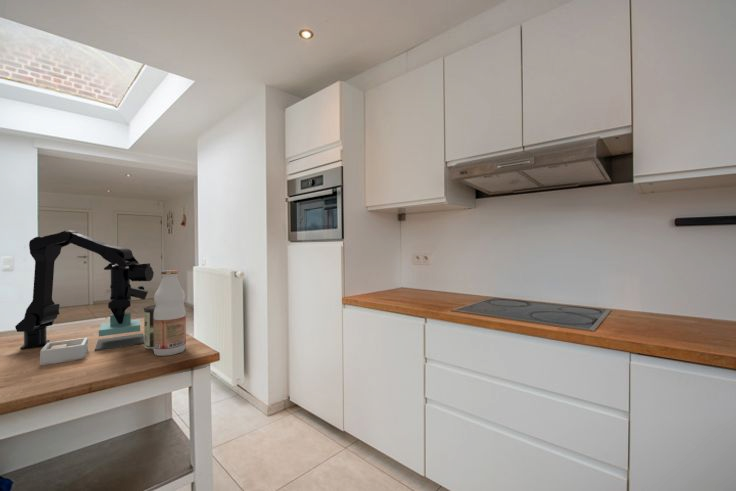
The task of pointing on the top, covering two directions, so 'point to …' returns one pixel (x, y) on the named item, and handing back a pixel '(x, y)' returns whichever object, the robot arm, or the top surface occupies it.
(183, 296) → the fruit juice
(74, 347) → the box
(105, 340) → the mat
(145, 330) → the coffee can
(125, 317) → the lid
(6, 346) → the top surface
